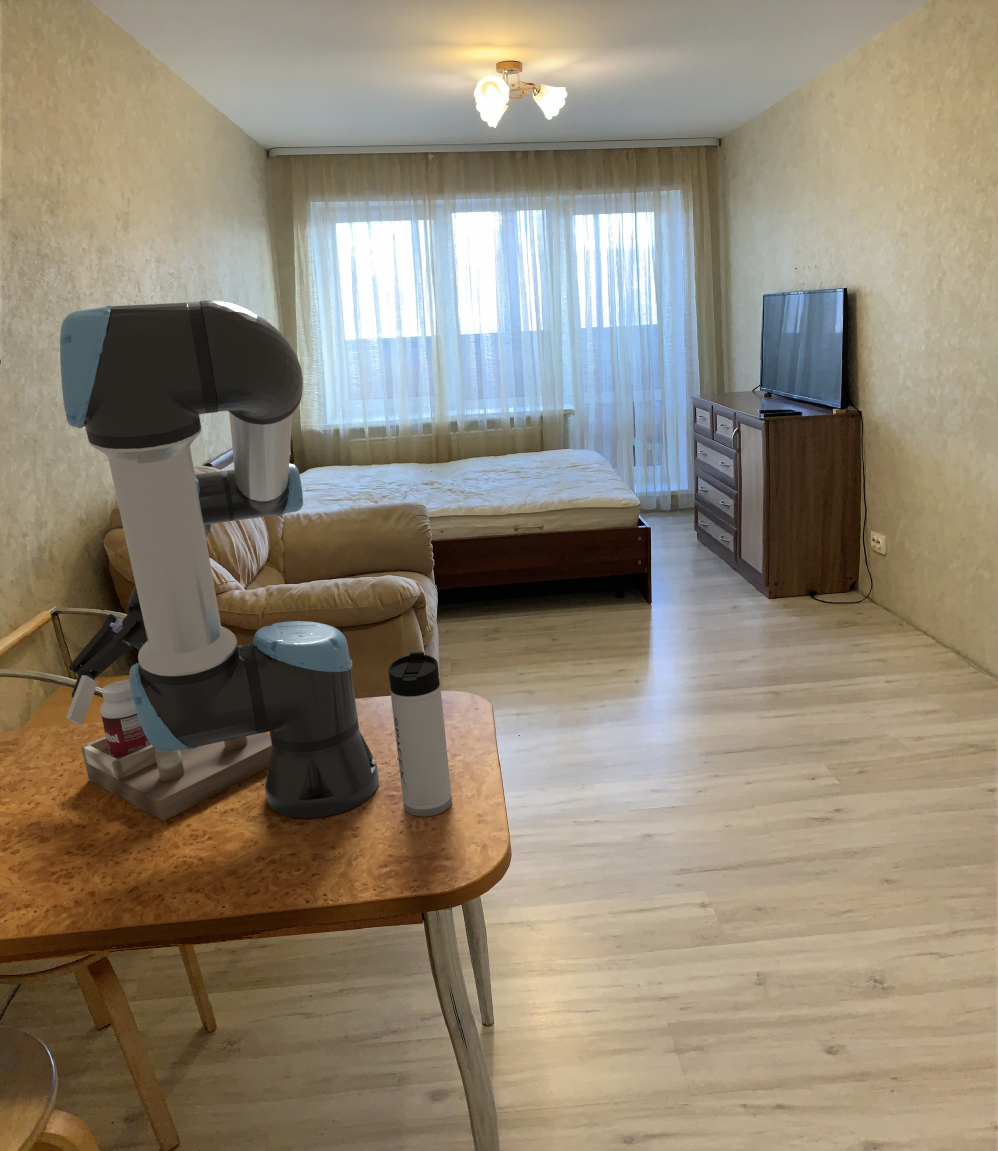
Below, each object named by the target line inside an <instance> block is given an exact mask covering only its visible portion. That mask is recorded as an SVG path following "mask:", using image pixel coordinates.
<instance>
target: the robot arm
mask: <svg viewBox="0 0 998 1151" xmlns="http://www.w3.org/2000/svg"><path fill="white" fill-rule="evenodd" d="M59 355H60V356H59V357H60V361H59V362H60V364H59V365H60V377H61V391H62V400H63V401H62V402H63V406H64V412H65V416H66V421H67V424H68V425H69V426H71V427H72V428H73V427H74V428H77V429H83V428H84V427H85V431H86V435H87V439H88V440H87V441H88V443H89V445H90V446H91V447H93V448H94V449H95V450H98V451H99V452H101V453H103V454H104V455H105V456H106V457H107V460H108V463H109V468H110V472H111V477H112V483H113V486H114V491H115V497H116V500H117V505H118V510H119V514H120V519H121V523H122V527H123V532H124V537H125V543H126V546H127V551H128V556H129V560H130V565H131V569H132V570H131V571H132V575H133V578H134V583H135V584H134V587H133V589H132V592H131V595H130V597H129V600H128V604H127V605H128V612H127V614H126V616H124V618H122V617H117V616H116V615H115V614H112V613H110V614H107V616H106V618H105V620H104V621H103V624H102V626H101V628H100V629H99V630H98V631H97V632H96V633H95V635H94V636H93V637H92V638H91V639H90V641H89V642H88V643H87V644H86V645H85V647H83V649H82V650H81V651H80V652H79V654H77V656H76V657H75V659H73V661H72V662H71V663H70V664H69V667H68V669H69V670H70V671H71V672H73V673H74V674H76V675H77V678H76V682H75V684H74V686H73V690H72V691H71V698H73V699H72V700H71V704H70V705H69V708H68V710H67V711H68V712H67V714H66V716H65V719H67V720H68V721H71V722H73V723H74V724H77V725H80V726H81V725H82V726H83V724H84V722H85V719H86V715H87V714H88V711H89V708H90V706H91V702H92V700H93V698H94V694H95V692H96V689H97V687H98V684H99V682H98V681H97V680H96V678H97V677H98V676H100V675H101V674H102V673H103V672H105V670H107V669H108V668H109V667H110V666H111V665H112V664H114V663H115V662H116V661H117V660H119V659H120V657H122V656H124V655H125V653H127V652H131V651H132V650H134V649H139V650H138V655H137V660H138V662H136V663H134V664H133V665H131V667H130V669H129V672H128V673H129V674H128V675H129V679H128V680H129V681H130V688H131V693H132V697H133V700H134V703H135V709H136V712H137V715H138V718H139V721H140V724H141V726H142V729H143V731H144V733H145V735H146V737H147V739H148V740H149V742H150V743H151V745H152V746H153V747H155V748H156V749H158V750H160V751H164V752H169V751H175V750H181V749H195V748H196V747H198V746H203V745H208V744H212V743H217V742H222V741H226V740H231V739H236V738H241V737H245V736H250V735H255V734H260V733H269V734H270V737H271V744H272V747H271V753H270V759H269V765H268V768H267V773H266V776H265V781H264V789H265V790H264V791H265V798H266V803H267V805H268V806H269V808H270V809H271V810H272V811H274V812H275V813H277V814H279V815H282V816H285V817H288V818H295V819H315V818H324V817H329V816H333V815H337V814H340V813H344V812H346V811H348V810H351V809H353V808H355V807H357V806H359V805H361V804H362V803H364V802H366V801H367V800H369V799H370V797H371V796H372V795H373V794H375V792H376V790H377V789H378V786H379V783H380V779H379V771H378V765H377V762H376V759H375V758H374V756H373V754H372V752H371V749H370V748H369V746H368V744H367V742H366V741H365V738H364V736H363V735H362V732H361V730H360V724H359V719H358V718H359V717H358V710H357V704H356V703H357V702H356V695H355V690H354V689H355V688H354V681H353V680H354V678H353V674H352V668H353V660H352V659H351V657H350V651H349V646H348V641H347V639H346V637H345V635H344V633H342V632H341V631H340V629H338V628H336V627H335V626H332V625H329V624H325V623H320V622H315V621H306V620H305V621H303V620H302V621H301V620H297V621H296V620H295V621H294V620H293V621H292V620H291V621H282V622H275V623H272V624H270V625H266V626H262V627H261V628H259V629H258V630H257V631H255V634H254V636H253V639H252V641H253V643H247V644H240V645H238V640H237V637H236V635H235V634H234V633H233V632H232V631H231V630H230V629H228V628H227V627H224V626H222V623H221V616H220V611H219V605H218V601H217V600H218V599H217V594H216V588H215V583H214V577H213V571H212V566H211V558H210V553H209V548H208V543H207V537H208V536H209V533H210V532H211V528H212V525H214V524H220V523H226V522H227V523H229V522H233V521H242V520H243V521H244V520H250V519H258V518H259V519H260V518H267V517H275V516H277V517H278V516H279V517H281V516H284V514H291V513H296V512H298V511H300V510H302V508H303V505H304V498H303V497H304V496H303V494H304V493H303V485H302V480H301V476H300V472H299V469H298V467H297V466H296V464H294V463H290V456H291V441H292V426H293V414H294V413H295V412H296V410H297V409H298V408H299V405H300V404H301V401H302V397H303V386H304V379H303V378H304V377H303V372H302V371H303V370H302V367H301V364H300V360H299V359H298V356H297V354H296V352H295V350H294V349H293V347H292V345H291V344H290V343H289V341H288V340H287V339H286V338H285V336H284V335H283V334H282V333H281V332H280V330H278V329H277V328H276V327H275V326H274V325H273V324H272V323H270V322H269V321H268V320H267V319H265V318H263V317H262V316H260V315H259V314H256V313H255V312H253V311H252V310H250V309H248V308H246V307H243V306H241V305H238V304H235V303H232V302H227V301H222V300H216V299H215V300H213V299H211V300H210V299H208V300H200V301H189V302H171V303H169V302H168V303H152V304H151V303H150V304H149V303H147V304H132V305H131V304H128V305H106V306H103V307H96V308H95V307H94V308H89V309H83V310H82V309H81V310H76V311H72V312H70V313H68V315H66V316H65V318H64V319H63V321H62V323H61V327H60V335H59ZM218 412H228V413H229V425H230V434H231V435H230V436H231V446H232V447H231V448H232V456H233V469H227V470H221V471H214V472H205V473H196V472H195V468H194V463H193V462H194V461H193V456H192V451H191V444H193V442H195V440H196V439H197V438H198V436H199V435H200V433H201V432H202V424H201V418H200V415H204V414H214V413H218ZM124 639H126V640H124Z"/></svg>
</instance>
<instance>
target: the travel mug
mask: <svg viewBox="0 0 998 1151" xmlns="http://www.w3.org/2000/svg"><path fill="white" fill-rule="evenodd" d="M439 671H440V670H439V663H438V660H437V659H436V658H435V657H433V656H431V655H428V654H425V652H424V651H413V652H412V651H411V652H410V653H409V654H408V655H405V656H401V657H399V658H397V659H395V660H394V661H393V662H392V663H391V664H390V665H389V666H388V678H389V687H390V688H389V690H390V700H391V707H392V709H391V710H392V715H393V716H392V717H393V723H394V724H393V725H394V733H395V742H396V750H397V759H398V769H399V775H400V776H399V777H400V784H401V785H400V786H401V792H402V793H401V794H402V801H403V807H404V808H403V809H404V810H405V811H406V812H407V813H408V814H410V815H413V816H415V817H419V818H420V817H424V818H425V817H433V816H437V815H439V814H441V813H444V812H446V811H447V810H448V809H449V808H450V806H451V805H452V803H453V798H452V790H451V788H452V787H451V778H450V776H451V775H450V770H449V769H450V768H449V757H448V749H447V748H448V746H447V739H446V738H447V737H446V728H445V727H446V726H445V719H444V716H445V715H444V707H443V697H442V689H441V682H440V673H439Z"/></svg>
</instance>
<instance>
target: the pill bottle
mask: <svg viewBox="0 0 998 1151" xmlns="http://www.w3.org/2000/svg"><path fill="white" fill-rule="evenodd" d="M101 693H102V699H103V700H104V701H103V703H102V704H101V705H100V710H99V712H100V717H101V720H102V725H103V729H104V730H103V731H104V734H105V735H104V736H106V739H107V744H108V749H109V753H110V756H112V757H114V758H116V759H120V758H122V757H124V756H127V755H129V754H131V753H133V752H136V751H138V750H140V749H142V748H145V747H147V746H149V745H151V743H150V742H149V740H148V739H147V737H146V735H145V733H144V731H143V729H142V726H141V724H140V721H139V718H138V715H137V712H136V709H135V703H134V700H133V697H132V693H131V688H130V681H129V679H123V680H118V681H115V682H111V683H109V684H107V685H105V686H104V687H103V688H101Z"/></svg>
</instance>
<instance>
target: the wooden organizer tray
mask: <svg viewBox="0 0 998 1151" xmlns="http://www.w3.org/2000/svg"><path fill="white" fill-rule="evenodd" d="M271 747H272V744H271V737H270V733H269V732H265V733H260V734H255V735H250V736H245V737H241V738H236V739H231V740H226V741H222V742H217V743H212V744H208V745H203V746H198V747H196V748H195V749H181V750H175V751H169V752H164V751H160V750H158V749H156V748H155V747H153V746H152V745H149V746H147V747H145V748H142V749H140V750H138V751H136V752H133V753H131V754H129V755H127V756H124V757H122V758H120V759H116V758H114V757H112V756H110V753H109V749H108V744H107V739H106V735H104V736H102V737H100V738H97V739H95V740H93V741H90V742H88V743H85V744H83V745H81V746H80V748H81V751H82V755H83V759H84V764H85V765H84V766H85V769H86V773H87V774H86V775H87V778H88V781H89V782H91V783H93V784H94V785H97V786H98V787H100V788H101V789H104V790H105V791H107V792H109V793H111V794H113V795H114V796H117V797H118V798H120V799H122V800H124V801H126V803H127V802H128V803H129V804H132V805H133V806H135V807H136V808H138V809H140V810H142V811H144V812H145V813H148V814H149V815H151V816H153V817H155V818H157V819H159V820H160V821H161V822H165V821H167V820H169V819H171V818H172V817H175V816H176V815H178V814H181V813H182V812H184V811H186V810H188V809H190V808H192V807H194V806H196V805H198V804H200V803H202V802H204V801H206V800H207V799H210V798H211V797H213V796H215V795H217V794H219V793H221V792H223V791H224V790H227V789H228V788H230V787H233V786H235V785H236V784H238V783H241V782H242V781H244V780H247V779H248V778H250V777H252V776H253V775H255V774H258V773H260V772H262V771H264V770H266V769H268V765H269V759H270V753H271Z"/></svg>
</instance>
